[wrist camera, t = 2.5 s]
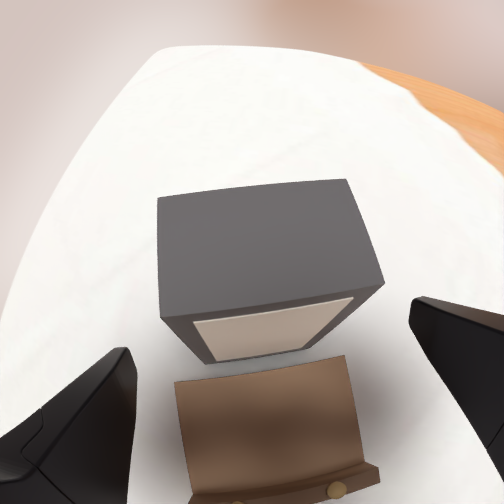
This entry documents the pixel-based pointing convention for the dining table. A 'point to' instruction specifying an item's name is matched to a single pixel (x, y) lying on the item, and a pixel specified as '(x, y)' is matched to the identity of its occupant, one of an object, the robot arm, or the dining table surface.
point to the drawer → (273, 436)
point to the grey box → (262, 267)
